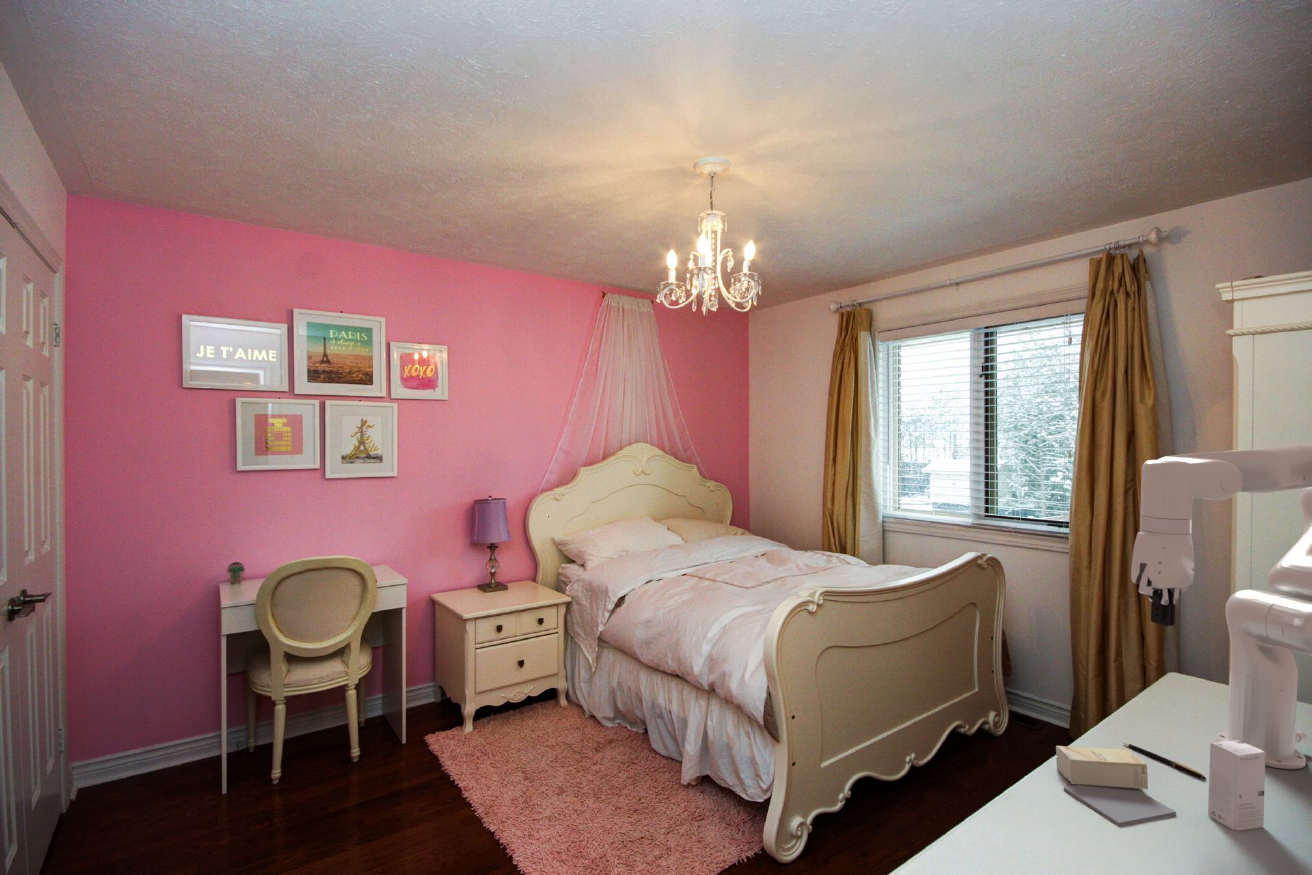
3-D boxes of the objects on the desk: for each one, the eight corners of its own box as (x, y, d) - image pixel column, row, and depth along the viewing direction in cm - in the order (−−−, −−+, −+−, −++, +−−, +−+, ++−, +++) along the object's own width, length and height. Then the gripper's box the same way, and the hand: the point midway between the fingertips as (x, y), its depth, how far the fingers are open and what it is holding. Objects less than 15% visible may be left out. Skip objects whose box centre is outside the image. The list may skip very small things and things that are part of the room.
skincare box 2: (1235, 832, 100) (1239, 756, 99) (1205, 814, 104) (1208, 742, 104) (1265, 827, 101) (1269, 752, 101) (1234, 810, 105) (1237, 738, 105)
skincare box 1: (1148, 764, 109) (1071, 758, 111) (1149, 790, 109) (1072, 785, 111) (1127, 748, 116) (1054, 744, 118) (1128, 774, 115) (1055, 768, 117)
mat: (1117, 780, 114) (1117, 777, 114) (1175, 814, 104) (1176, 811, 104) (1063, 789, 110) (1063, 787, 110) (1119, 825, 101) (1119, 822, 101)
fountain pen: (1118, 745, 127) (1118, 737, 127) (1121, 744, 127) (1122, 736, 127) (1205, 783, 114) (1205, 774, 114) (1208, 781, 114) (1209, 773, 114)
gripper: (1174, 521, 124) (1171, 614, 124) (1115, 524, 120) (1112, 620, 120) (1217, 527, 117) (1214, 626, 117) (1155, 531, 113) (1152, 634, 113)
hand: (1162, 623), depth 119 cm, fingers closed
